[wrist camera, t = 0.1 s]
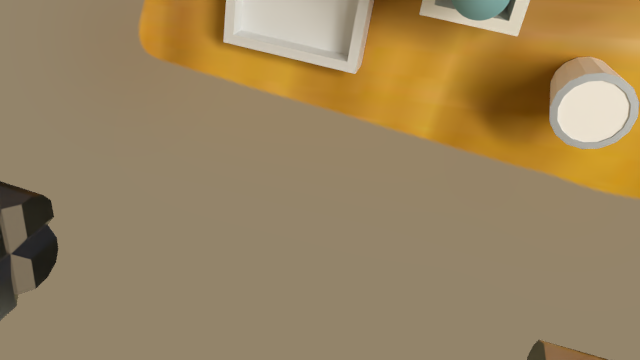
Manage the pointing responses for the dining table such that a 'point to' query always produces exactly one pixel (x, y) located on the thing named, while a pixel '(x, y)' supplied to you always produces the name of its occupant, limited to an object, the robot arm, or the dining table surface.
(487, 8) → the dowel
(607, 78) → the tan cylinder
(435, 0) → the deep box
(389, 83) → the dining table surface
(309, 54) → the tray
